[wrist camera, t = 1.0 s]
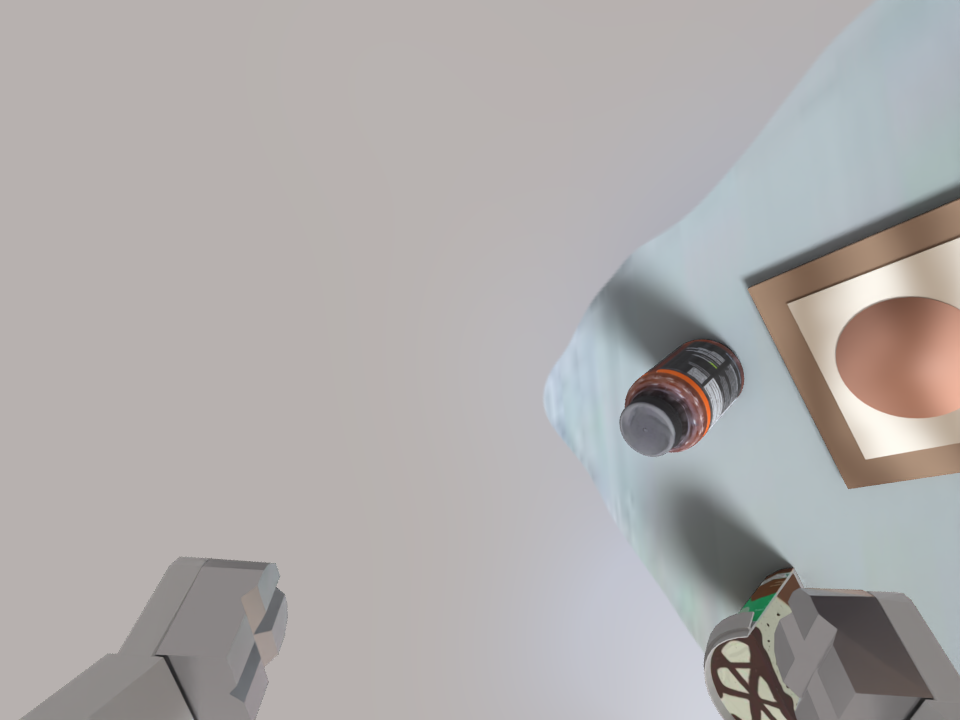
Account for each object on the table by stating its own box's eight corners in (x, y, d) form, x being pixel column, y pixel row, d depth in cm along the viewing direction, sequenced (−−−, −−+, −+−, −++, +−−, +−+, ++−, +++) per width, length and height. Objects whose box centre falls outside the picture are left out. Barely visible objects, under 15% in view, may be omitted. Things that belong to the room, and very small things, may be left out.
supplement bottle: (670, 397, 51) (603, 455, 43) (674, 331, 49) (604, 379, 41) (743, 415, 47) (685, 482, 39) (751, 344, 45) (690, 400, 37)
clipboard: (1086, 144, 30) (1087, 146, 29) (1228, 425, 30) (1234, 438, 29) (751, 286, 43) (744, 291, 42) (850, 483, 43) (846, 493, 42)
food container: (716, 557, 53) (668, 629, 46) (785, 550, 48) (743, 629, 42) (781, 682, 53) (742, 773, 46) (855, 687, 48) (825, 789, 41)
